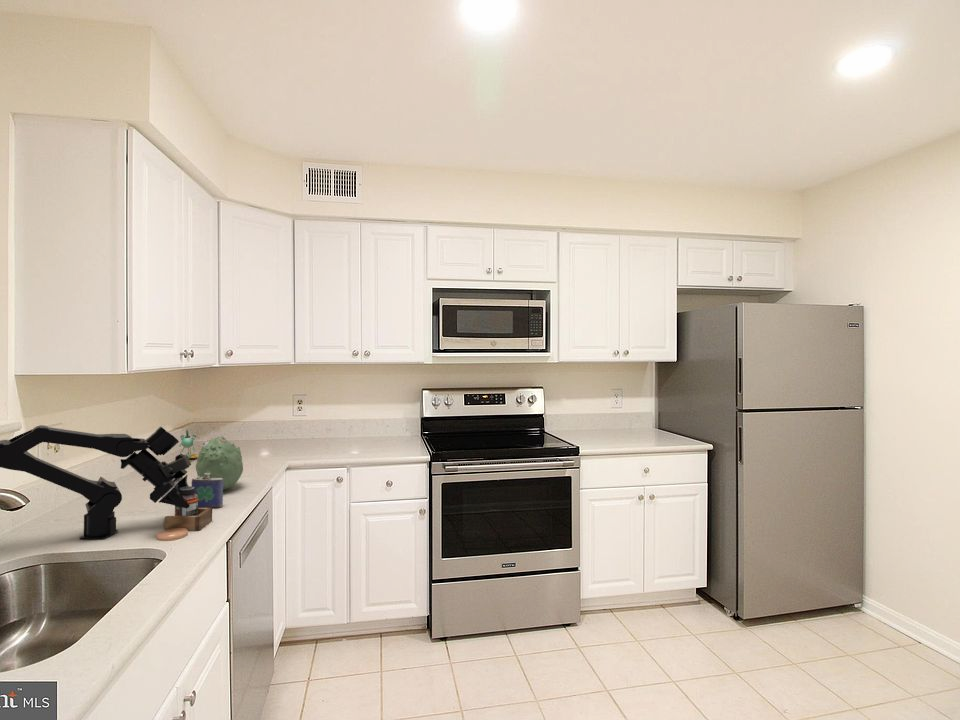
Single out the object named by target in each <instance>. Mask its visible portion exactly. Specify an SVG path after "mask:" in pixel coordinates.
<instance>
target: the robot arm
mask: <svg viewBox="0 0 960 720" xmlns="http://www.w3.org/2000/svg"><path fill="white" fill-rule="evenodd" d="M179 442H180V441H179V440H178V439H177V438H176V437H175V435H173V434H172V433H170V432H168V431H167V430H166V429H165V428H163V427H162V426H159V427H158V428H157V429H156V430H155V431H154V432H153V433H152V434H151V435H149V436H148V437H147V438H146V439H145V438H140V437H139V438H137V437H136V438H135V437H132V436H131V435H129V434H126V433H103V434H102V433H100V434H98V433H97V434H96V433H90V432H84V431H77V430H71V429H64V428H57V427H49V426H48V425H41V424H39V425H37V426H35V427H33V428H31V429H30V430H28V431H25V432H23V433H20V434H18V435H16V436H15V437H12V438H9V439H1V440H0V468H1V469H7V470H11V471H17V472H18V471H19V472H25V473H27V474H30V475H33V476H35V477H36V478H39V479H43V480H44V481H47V482H49V483H53V485H56V486H60V487H61V488H64V489H67V490H70V491H72V492H75V493H77V494H79V495H82V496H83V497H84V498H85V499H86V500H87V502H86V503H85V507H86V508H85V509H86V512H87V513H84V515H83V535H81V536H80V537H79V539H80V540H104V539H107V538H108V537H111V536H112V535H114V534H115V533H117V532H118V531H119V529H118V528H117V517H116V516H115V513H116V511H114V510H115V508H117V507H118V506H119V505H120V504H121V502H122V500H123V496H122V493H121V490H120V489H119V487H118V486H117V484H116V483H115V481H109V480H107V479H105V478H104V477H102V476H99V479H98V480H92V479H88V478H86V477H83V476H82V475H78V474H77V473H73V472H71V471H69V470H66V469H64V468H62V467H60V466H57V465H55V464H53V463H50V462H48V461H45V460H43V459H40V458H38V457H36V456H35V455H33V454H31V453H30V452H29V450H31V449H33V448H35V447H36V446H38V445H39V444H42V443H47V444H48V443H49V444H54V445H55V444H56V445H64V446H71V447H77V448H78V447H79V448H86V449H94V450H98V451H100V452H103V453H106V454H109V455H111V456H116V457H120V458H121V459H120V469H122V470H123V469H124V470H125V468H126V467H128V466H130V467H131V468H132V469H133V470H134V471H135V472H136V473H138V474H139V475H141V476H142V481H144V482H146V481H147V482H148V483H150V484H151V485H152V486H154V488H153V491H152V492H150V494H149V499H150V500H151V501H152V502H153V503H154V504H155V503H157V502H158V503H160V504H161V503H162V504H165V505H171V506H174V507H175V506H179V507H182V508H186V509H187V508H188V507H189V506H190V505H189V504H188V502H187V501H186V500H185V499H184V498H183V497H182V495H181V494H180V493H179V489H180V488H181V487H186V486H189V484H188V474H187V473H188V471H187V469H189V468H190V466H192V462H190V461H191V458H189V457H187V455H186V454H183V453H181V454H178V455H176V456H175V459H174V460H172V461H171V462H169V463H168V462H166V461H163V460H162V461H160V460H159V459H158V458H156V457H155V456H154V455H156V456H159V455H160V456H165V455H166V454H167V453H168V452H169V451H170V450H172V449H173V448H174V447H175V446H176V445H177V444H178V443H179ZM147 449H148V450H150V451H151V452H153V454H154V455H153V454H151V452H150V451H148V450H147ZM137 452H138V453H137ZM184 455H186V456H184ZM189 460H190V461H189Z"/></svg>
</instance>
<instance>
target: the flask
mask: <svg viewBox="0 0 960 720" xmlns="http://www.w3.org/2000/svg"><path fill="white" fill-rule="evenodd" d="M210 474H211V473H205V476H203V477H202V478H200V476H199V477H198V476H196V477H193V478H192V479H191V486H192V487H194V490H195V491H194V493H195V494H197V495H198V508H212V509H214V510H215V509H221V508H222V507H223V506H224V500H223V498H224V490H223V478H210Z"/></svg>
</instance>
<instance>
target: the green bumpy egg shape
mask: <svg viewBox="0 0 960 720" xmlns="http://www.w3.org/2000/svg"><path fill="white" fill-rule="evenodd" d="M240 448H241V447H240V446H237V447H236V445H235V443H234V442H233V443H231V442H230V441H229V440H228V439H227V438H226V437H225V436H223V435H222V436H218V437H215V438H211V439H210V440H209V439H207V440H206V441H205V442H203V443H202V444H201V448H200V451H199V452H198V457H196V464H195V471H196V475H197V476H196V477H199V476H200V478H202V477H203V476H205V473H211V474H210V478H223V491H226V490H228V489H229V488H231V487H233V486H234V485H235V484H236V483H237V482H238V481H239V480H240V478H241V477H242V474H243V472H244V464H243V457H242V453H241V452H242V451H241V449H240Z"/></svg>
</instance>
